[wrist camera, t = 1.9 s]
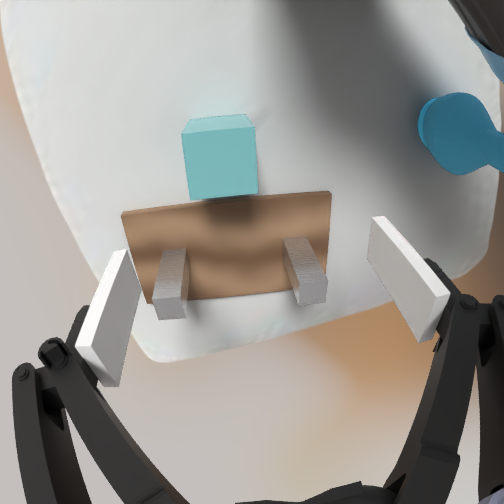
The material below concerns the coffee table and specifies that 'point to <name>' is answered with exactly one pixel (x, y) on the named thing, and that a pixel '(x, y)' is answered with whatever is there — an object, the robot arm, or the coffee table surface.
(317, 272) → the post
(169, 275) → the post
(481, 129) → the perfume bottle
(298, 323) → the coffee table surface
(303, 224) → the board
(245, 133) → the teal rectangular prism
